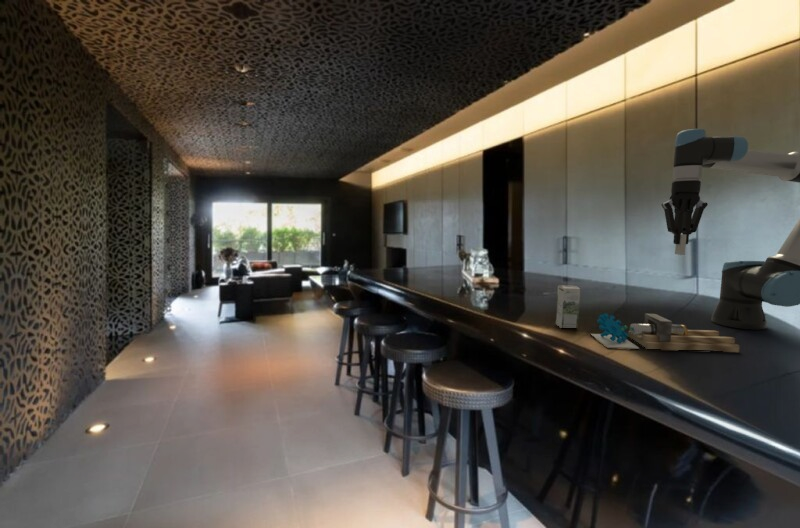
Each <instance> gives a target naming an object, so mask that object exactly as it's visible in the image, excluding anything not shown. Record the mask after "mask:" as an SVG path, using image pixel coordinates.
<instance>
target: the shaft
mask: <svg viewBox="0 0 800 528" xmlns="http://www.w3.org/2000/svg"><path fill="white" fill-rule="evenodd" d="M688 330H689V329H688V327H687V325H685V324H672V329H671V335H682V336H686V335H687V333H688ZM629 331H630V333H631V334H632V335H642V334H647V335H656V332H657V324H644V323H631V324H630V325H629Z"/></svg>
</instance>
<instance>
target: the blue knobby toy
mask: <svg viewBox="0 0 800 528" xmlns="http://www.w3.org/2000/svg"><path fill="white" fill-rule="evenodd" d="M615 319H616V317H615V316H614V315H613V314H608V313H604V314H600V315H599V316H598V319H597V321H596V322H597V323H598V324H599V326H598V327H599V330H603V332H602V333H599V334H600V335H601V337H604V336H608V335H609V334H610V335H612V337H610V339H611V340H612V341H614V340H616V338H615V337H617V342H618V343H621V342H622V341H625V340H628V339H627V337H628V332H627V331H626V330H627V329H628V328H629V327H628V326H627V325H626V324H625V325H621V324H622V321H621V320H620V319H617V320H615ZM625 331H626V332H625ZM620 337H621V338H620Z"/></svg>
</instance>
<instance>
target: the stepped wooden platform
mask: <svg viewBox="0 0 800 528" xmlns="http://www.w3.org/2000/svg"><path fill="white" fill-rule="evenodd" d="M643 322H644V323H643V324H657V332H656V335H647V334H642V335H632V334H631V333H630V330H628V331H627V333H628V335H627V338H628V337H630V338H631V339H630V338H629V339H630V340H632V339H633V340H635V341H636V342H638V343H639V344H641V345H642V346H641V345H640V346H641V347H643V346H644V347H645V348H644V347H643V348H644V349H645V350H647V349H661V350H660V351H678V350H714V351H723V352H722V353H740V347H741V346H740V345H739V344H738V343H737V344H736V343H735V342H736V341H735V340H736V337H732V336H720V331H718V330H713V329H711V330H708V329H706V330H705V329H688V333H687V335H686V336H682V335H671V329H672V325H673V321H672V320H669V319H667V318H666V317H663V316H661V315H659V314H656V313H644V321H643ZM633 340H632V341H633ZM635 341H634V342H635ZM636 342H635V343H636ZM638 343H637V344H638ZM639 344H638V345H639Z"/></svg>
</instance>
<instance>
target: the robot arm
mask: <svg viewBox="0 0 800 528" xmlns="http://www.w3.org/2000/svg"><path fill="white" fill-rule="evenodd" d="M675 137H676V138H675V141H674V155H673V157H674V158H673V168H672V182H671V191H670V192H671V196H670V197H669V200H667V201H666V202H662V203H661V206H662V208H663V210H664V215H665V222H666V228H667V232H669V233H671V234H673V241H672V242H673V244H674V245H675V248H674V249H675V250H674V255H680V256H681V255H682V256H685V255H686V245H689V237H690V235H692V234H693V233H696V232H697V231H698V227H699V224H700V221H701V218H702V216H703V213H704V210H705V209H706V207H708V202H704V201H703V200H701V197H700V192H701V184H702V181H701V179H702V174H703V168H704V169H705V168H707V169H713V170H722V171H723V170H724V171H731V172H737V173H747V174H753V175H754V174H755V175H761V176H763V175H764V176H770V177H771V176H772V177H778V179H780V180H781V181H785V182H786V181H787V182H793V183H799V184H800V152H799V151H792V152H789V153H782V152H781V153H780V152H773V151H765V150H757V149H756V150H755V149H749V142H748V140H747V139H746V137H744V136H735V135H731V136H730V135H729V136H707V133H706V130H705V129H703V128H692V129H691V128H690V129H685V130H681V131H679V132H678V133H677V134H676V136H675ZM673 208H674V209H673ZM720 283H721V284H720V291H719V292H720V293H719V301H718V303H717V304H716V307H715V309H714V310H713V312H712V314H711V322H713V323H714V324H717V325H720V326H724V327H729V328H736V329H743V330H753V331H755V330H757V331H759V330H765V329H767V319H766V316H765V312H764V309H763V303H767V304H769V305H771V306H777V307H785V308H786V307H787V308H788V307H790V308H791V307H794V306H799V305H800V218H798V220H797V222H796V223H795V225H794V226H793V228H792V229H791V231H790V232H789V234H788V236H787V238H786V239H785V241H784V242H783V244H782V245H781V247H780V249H779V250H778V251H777V253H776V254H775V255H772V256H767V258H766V260H765V261H764V260H728V261H725V262H724V263H723V266H722V270H721V281H720Z"/></svg>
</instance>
